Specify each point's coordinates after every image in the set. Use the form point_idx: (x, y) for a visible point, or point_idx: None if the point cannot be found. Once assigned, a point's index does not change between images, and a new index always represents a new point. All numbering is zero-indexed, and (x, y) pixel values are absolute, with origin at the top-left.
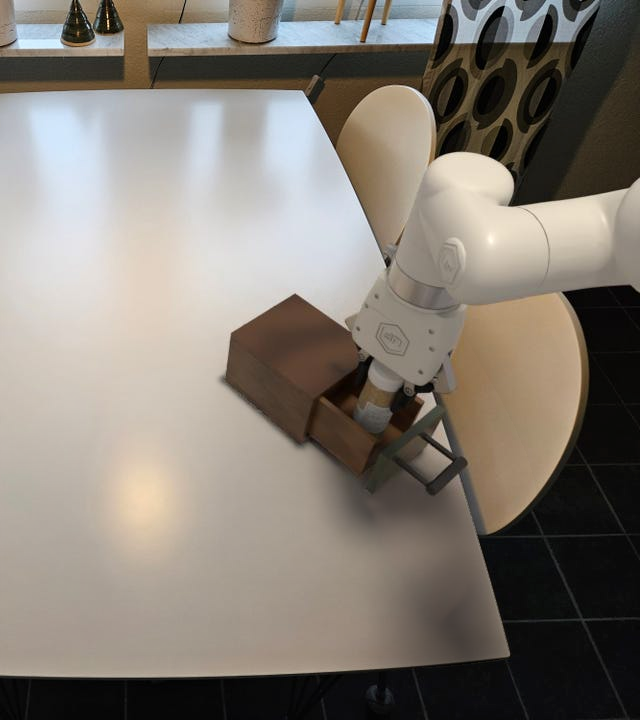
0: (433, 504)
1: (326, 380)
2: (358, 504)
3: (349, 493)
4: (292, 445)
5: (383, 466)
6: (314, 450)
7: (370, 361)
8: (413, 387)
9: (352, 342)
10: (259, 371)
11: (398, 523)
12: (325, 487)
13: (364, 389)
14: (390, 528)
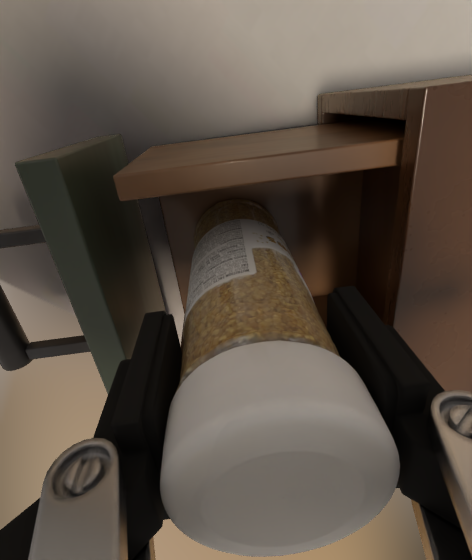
0: (36, 249)
1: (440, 218)
2: (99, 96)
3: (136, 100)
4: (328, 71)
5: (45, 153)
6: (282, 115)
7: (397, 427)
8: (37, 535)
9: None
10: None
11: (17, 146)
12: (180, 53)
13: (303, 298)
14: (10, 117)
